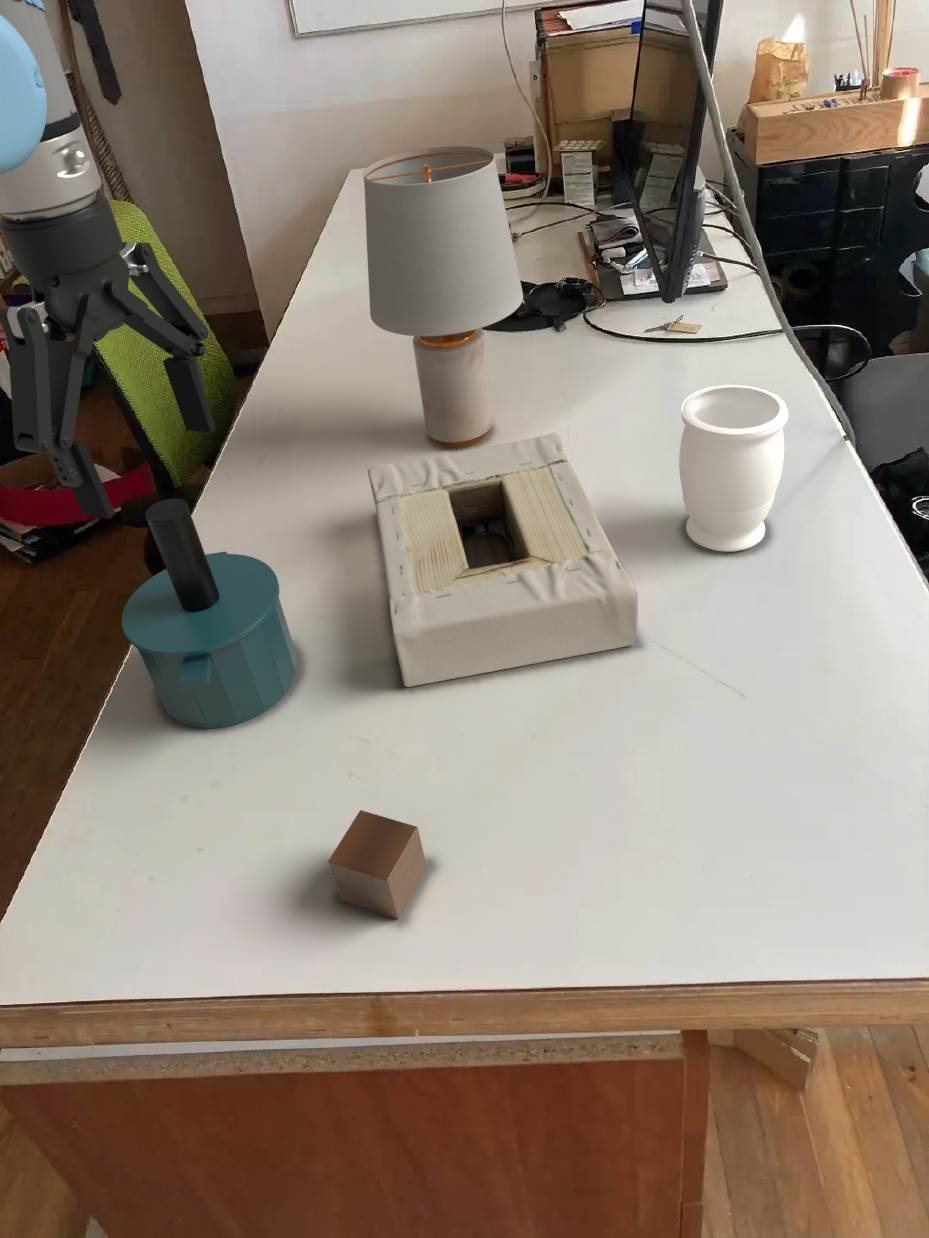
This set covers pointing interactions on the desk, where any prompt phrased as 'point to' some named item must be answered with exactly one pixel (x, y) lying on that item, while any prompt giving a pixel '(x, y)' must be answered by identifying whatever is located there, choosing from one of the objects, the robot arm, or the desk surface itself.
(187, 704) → the pot
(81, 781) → the desk surface
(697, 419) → the jar
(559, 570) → the box
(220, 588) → the lid
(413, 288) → the lamp
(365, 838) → the block
